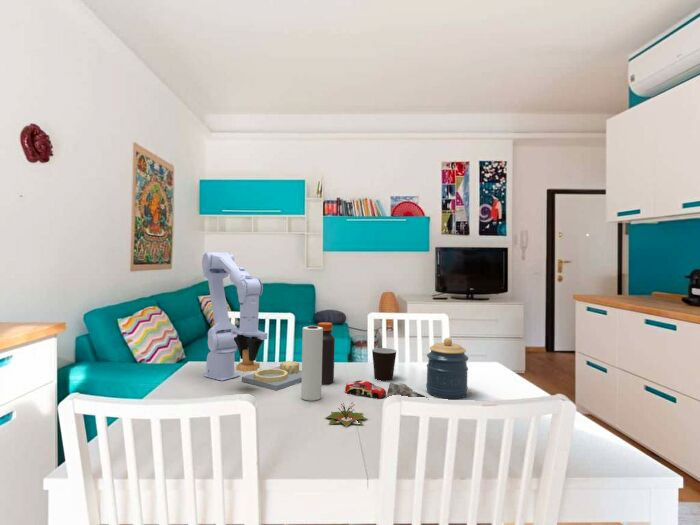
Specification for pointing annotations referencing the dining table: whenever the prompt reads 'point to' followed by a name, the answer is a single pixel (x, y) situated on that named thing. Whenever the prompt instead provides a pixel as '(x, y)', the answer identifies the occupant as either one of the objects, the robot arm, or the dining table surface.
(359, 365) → the dining table surface
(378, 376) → the coffee mug
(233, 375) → the robot arm
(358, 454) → the dining table surface
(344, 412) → the lily flower
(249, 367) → the planet gear
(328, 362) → the bottle
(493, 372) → the dining table surface
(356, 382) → the race car
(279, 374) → the carrier plate
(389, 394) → the camouflage cap
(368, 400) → the dining table surface
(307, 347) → the paper towel roll
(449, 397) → the canister
